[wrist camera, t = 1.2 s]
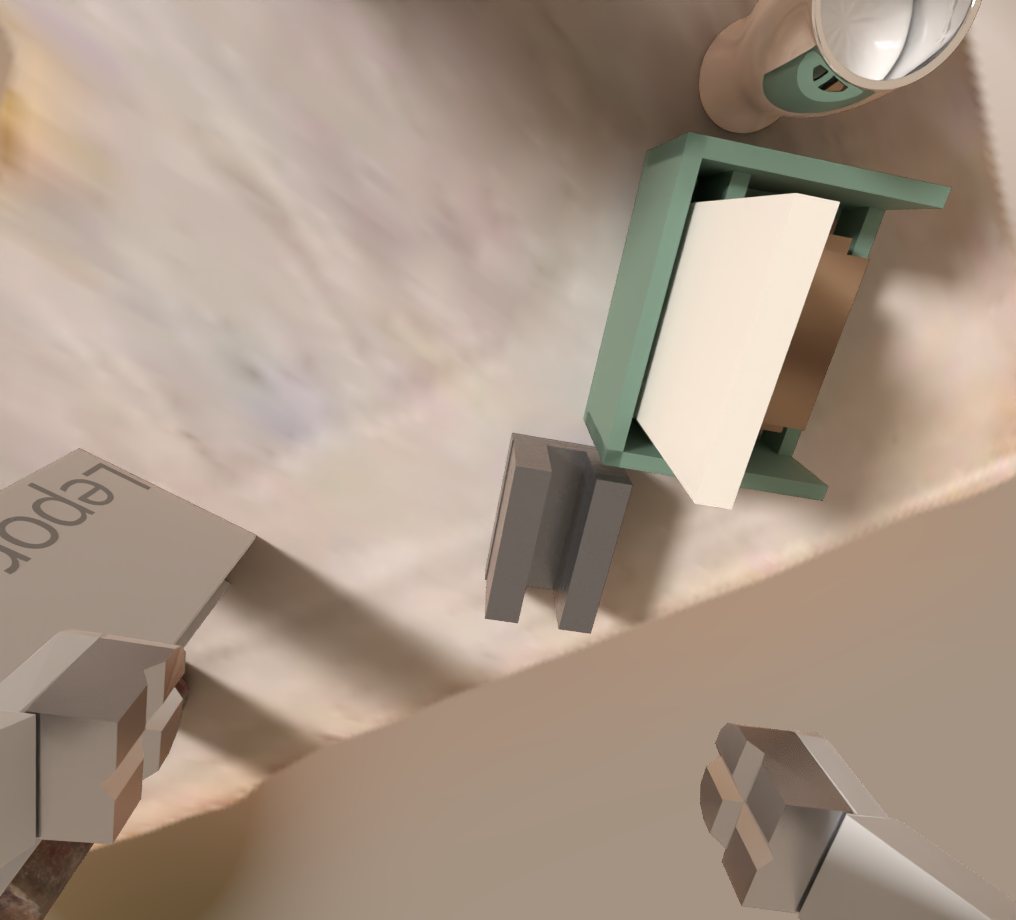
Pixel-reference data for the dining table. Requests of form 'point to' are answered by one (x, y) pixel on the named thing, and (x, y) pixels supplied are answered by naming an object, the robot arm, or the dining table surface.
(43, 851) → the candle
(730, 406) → the cream rectangular slab
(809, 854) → the robot arm
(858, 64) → the beer glass
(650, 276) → the offcut rack
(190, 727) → the dining table surface
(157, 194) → the dining table surface
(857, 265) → the top offcut
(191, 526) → the brochure
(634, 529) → the dining table surface
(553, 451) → the stand
